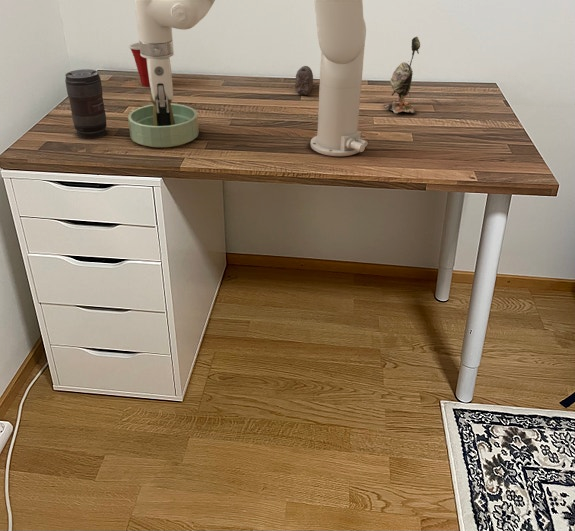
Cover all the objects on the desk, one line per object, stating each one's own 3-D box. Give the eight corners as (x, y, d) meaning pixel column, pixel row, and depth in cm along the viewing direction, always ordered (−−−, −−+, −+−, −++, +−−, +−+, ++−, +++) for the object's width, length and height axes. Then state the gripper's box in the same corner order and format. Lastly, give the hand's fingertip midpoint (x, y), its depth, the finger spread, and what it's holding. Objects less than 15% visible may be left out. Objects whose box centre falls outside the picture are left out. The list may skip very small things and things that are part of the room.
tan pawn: (179, 129, 156) (176, 86, 150) (173, 138, 151) (169, 94, 145) (156, 128, 157) (151, 85, 151) (149, 137, 152) (144, 93, 146)
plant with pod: (410, 102, 179) (419, 29, 168) (416, 116, 169) (426, 40, 158) (382, 102, 179) (389, 29, 168) (386, 115, 169) (394, 39, 158)
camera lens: (106, 126, 159) (97, 67, 151) (110, 137, 153) (101, 76, 145) (73, 129, 157) (62, 69, 149) (76, 141, 151) (65, 79, 142)
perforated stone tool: (298, 82, 193) (298, 59, 189) (314, 83, 193) (315, 60, 189) (293, 97, 181) (293, 73, 177) (311, 98, 180) (312, 74, 176)
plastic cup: (158, 76, 196) (154, 37, 190) (176, 84, 189) (172, 44, 183) (126, 82, 190) (121, 42, 184) (144, 91, 183) (139, 49, 177)
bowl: (212, 137, 154) (210, 116, 151) (153, 155, 144) (151, 132, 141) (174, 119, 164) (173, 99, 161) (118, 134, 155) (115, 113, 152)
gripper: (175, 57, 137) (181, 136, 147) (171, 39, 150) (177, 112, 160) (140, 58, 135) (149, 138, 145) (139, 40, 149) (147, 114, 159)
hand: (164, 124), depth 153 cm, fingers closed on tan pawn, 3 cm apart
